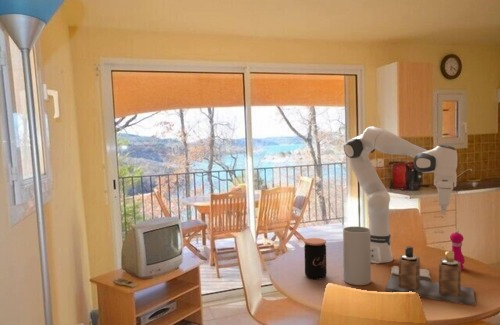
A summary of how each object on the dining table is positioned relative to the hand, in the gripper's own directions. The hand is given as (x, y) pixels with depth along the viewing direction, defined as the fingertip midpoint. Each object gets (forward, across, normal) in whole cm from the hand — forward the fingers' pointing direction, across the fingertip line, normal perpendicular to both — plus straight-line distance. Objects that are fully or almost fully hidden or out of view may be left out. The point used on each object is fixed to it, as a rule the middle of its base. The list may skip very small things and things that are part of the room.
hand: (443, 212), depth 164 cm
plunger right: (+31, +8, +4) cm, 32 cm away
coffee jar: (+36, +11, -55) cm, 67 cm away
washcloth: (+35, -10, -13) cm, 39 cm away
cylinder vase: (+36, +9, -35) cm, 51 cm away
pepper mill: (+34, -29, +7) cm, 46 cm away
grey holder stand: (+34, +8, -4) cm, 35 cm away
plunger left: (+31, +8, -12) cm, 34 cm away
